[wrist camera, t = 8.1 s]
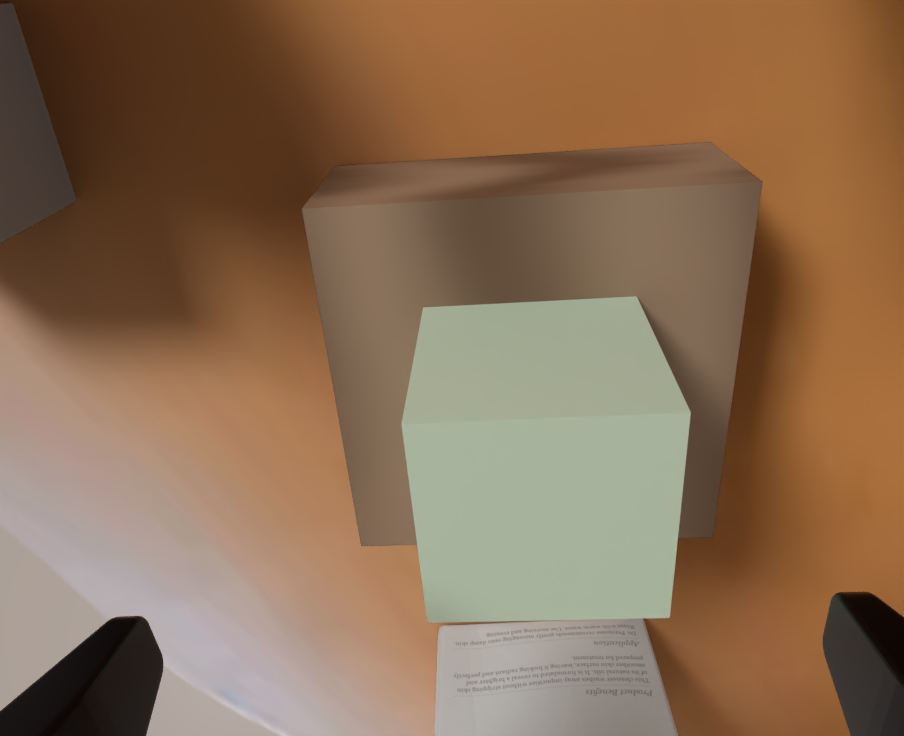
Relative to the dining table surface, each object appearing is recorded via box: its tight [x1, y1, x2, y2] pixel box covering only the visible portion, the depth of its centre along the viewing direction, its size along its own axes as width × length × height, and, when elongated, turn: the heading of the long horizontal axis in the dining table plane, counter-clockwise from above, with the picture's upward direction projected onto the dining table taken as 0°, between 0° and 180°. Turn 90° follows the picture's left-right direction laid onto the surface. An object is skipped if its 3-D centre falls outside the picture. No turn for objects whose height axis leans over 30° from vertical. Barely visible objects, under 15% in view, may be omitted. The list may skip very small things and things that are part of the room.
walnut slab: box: [302, 142, 762, 546], centre depth 20 cm, size 10×10×4 cm
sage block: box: [401, 296, 691, 623], centre depth 16 cm, size 5×5×5 cm
